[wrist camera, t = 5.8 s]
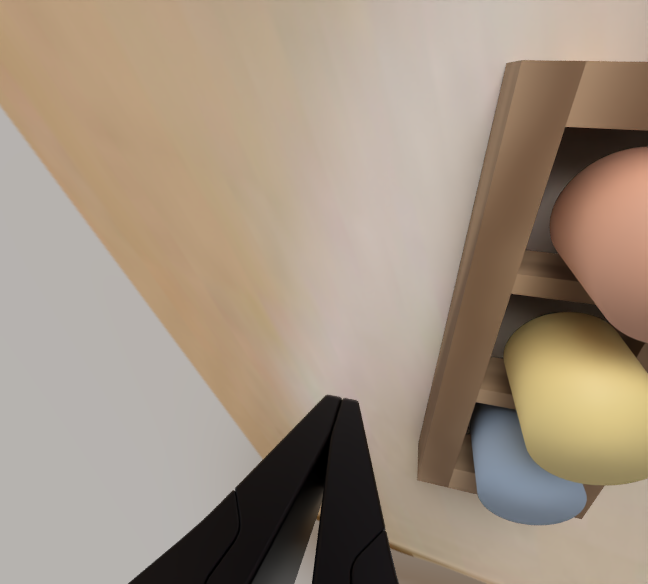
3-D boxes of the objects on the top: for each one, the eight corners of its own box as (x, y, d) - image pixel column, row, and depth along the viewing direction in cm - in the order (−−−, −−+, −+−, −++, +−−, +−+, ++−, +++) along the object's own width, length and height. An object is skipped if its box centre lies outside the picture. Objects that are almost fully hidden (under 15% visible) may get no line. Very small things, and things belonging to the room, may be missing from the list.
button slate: (569, 399, 21) (603, 478, 17) (542, 454, 24) (565, 534, 20) (478, 383, 22) (490, 453, 18) (461, 437, 25) (467, 510, 21)
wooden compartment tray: (805, 67, 13) (893, 65, 11) (566, 475, 25) (581, 519, 23) (506, 63, 15) (521, 60, 13) (418, 443, 27) (417, 480, 25)
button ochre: (643, 321, 16) (719, 407, 12) (597, 402, 18) (646, 498, 14) (519, 304, 17) (549, 379, 13) (492, 383, 19) (509, 467, 15)
